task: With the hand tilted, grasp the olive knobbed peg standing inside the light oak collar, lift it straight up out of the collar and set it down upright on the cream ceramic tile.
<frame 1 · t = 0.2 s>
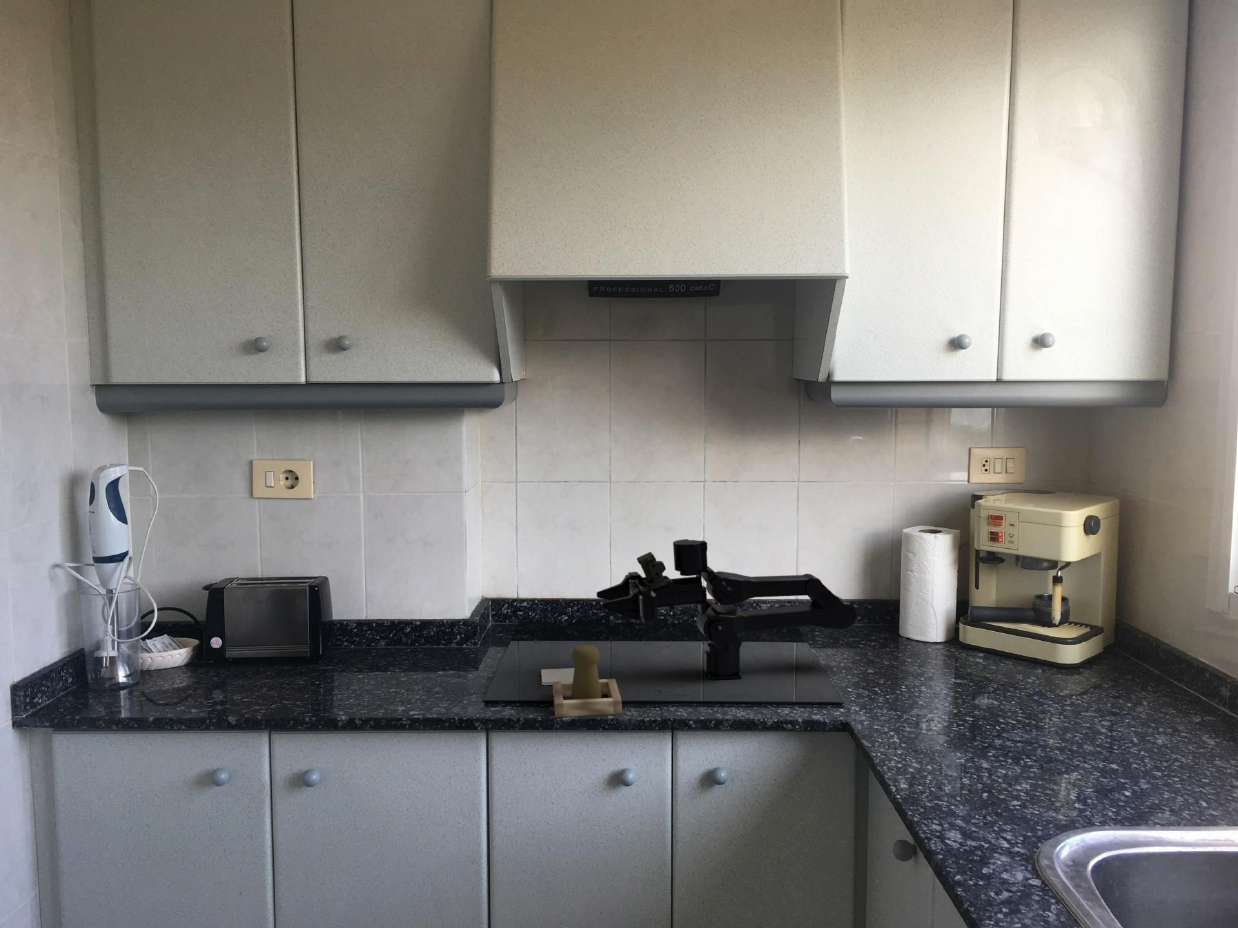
hand: (599, 600, 179), 17 cm above the worktop, tool horizontal, fingers open, 9 cm apart
oak collar: (586, 703, 168), on the worktop
olive knobbed peg: (586, 704, 168), resting in oak collar
cream tile: (561, 678, 183), on the worktop
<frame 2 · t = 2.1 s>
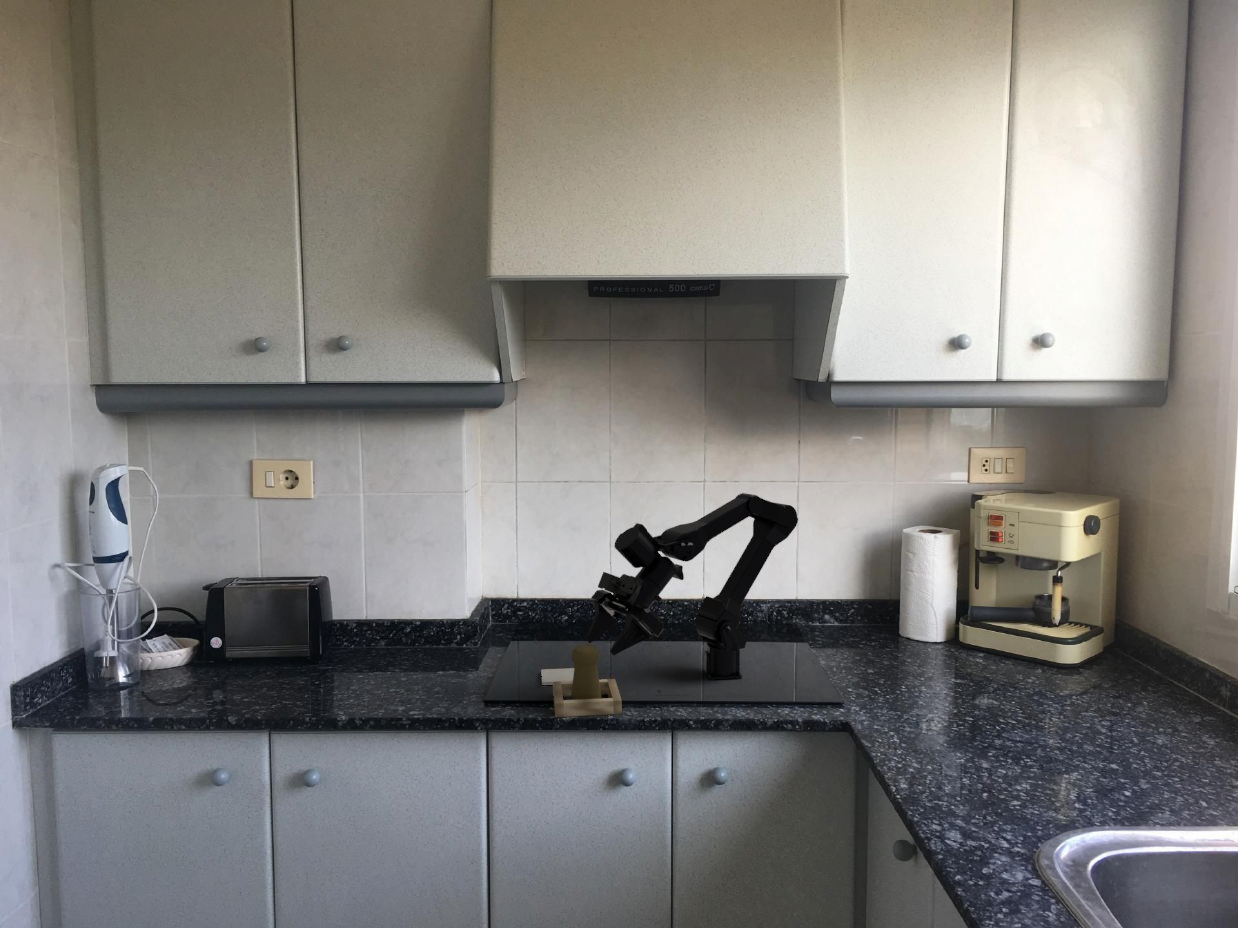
hand: (599, 647, 169), 10 cm above the worktop, tool tilted 45°, fingers open, 9 cm apart
nothing on the worktop moved.
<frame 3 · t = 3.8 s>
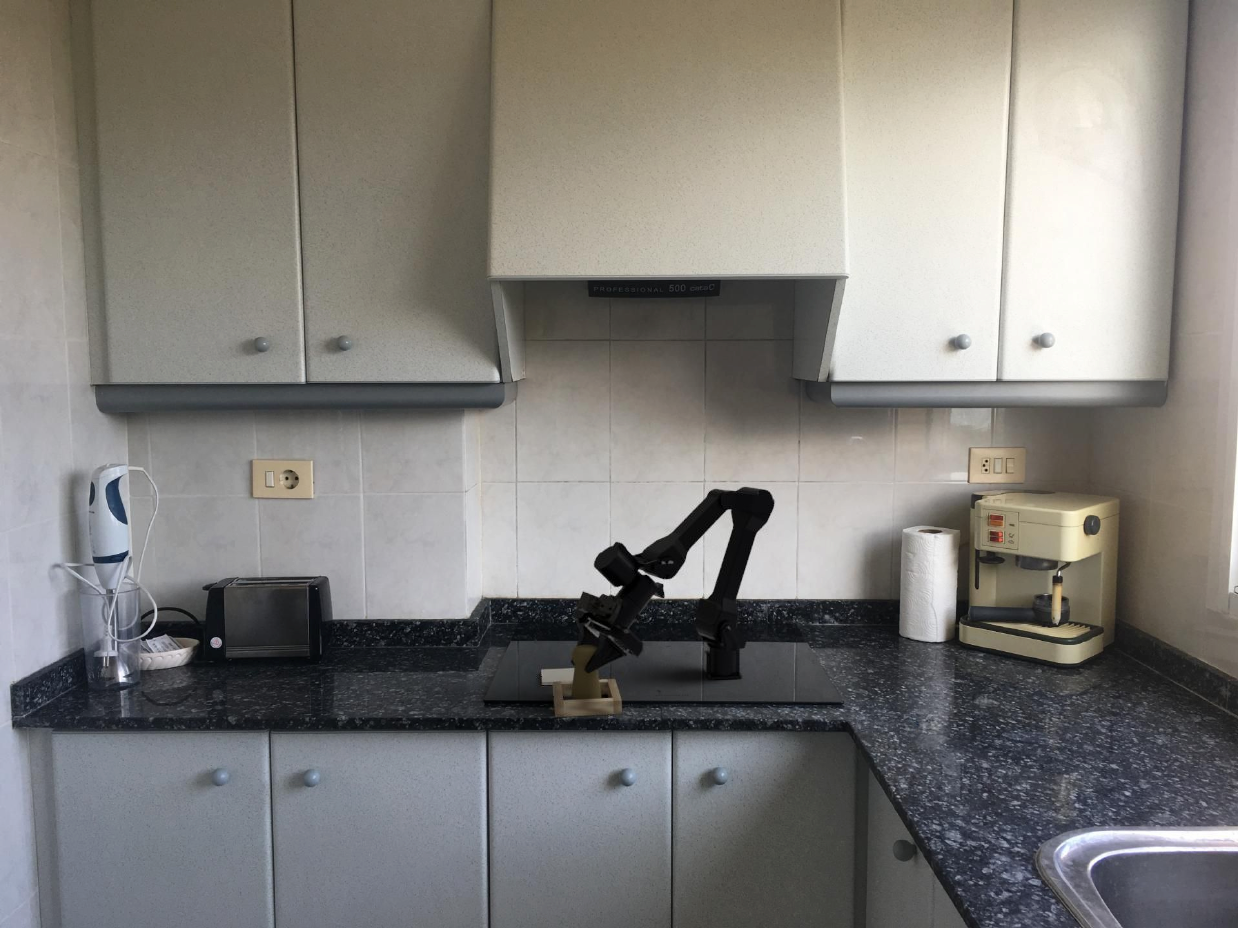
hand: (579, 667, 167), 7 cm above the worktop, tool tilted 45°, fingers closed on olive knobbed peg, 5 cm apart
olive knobbed peg: (586, 704, 168), resting in oak collar, touching gripper
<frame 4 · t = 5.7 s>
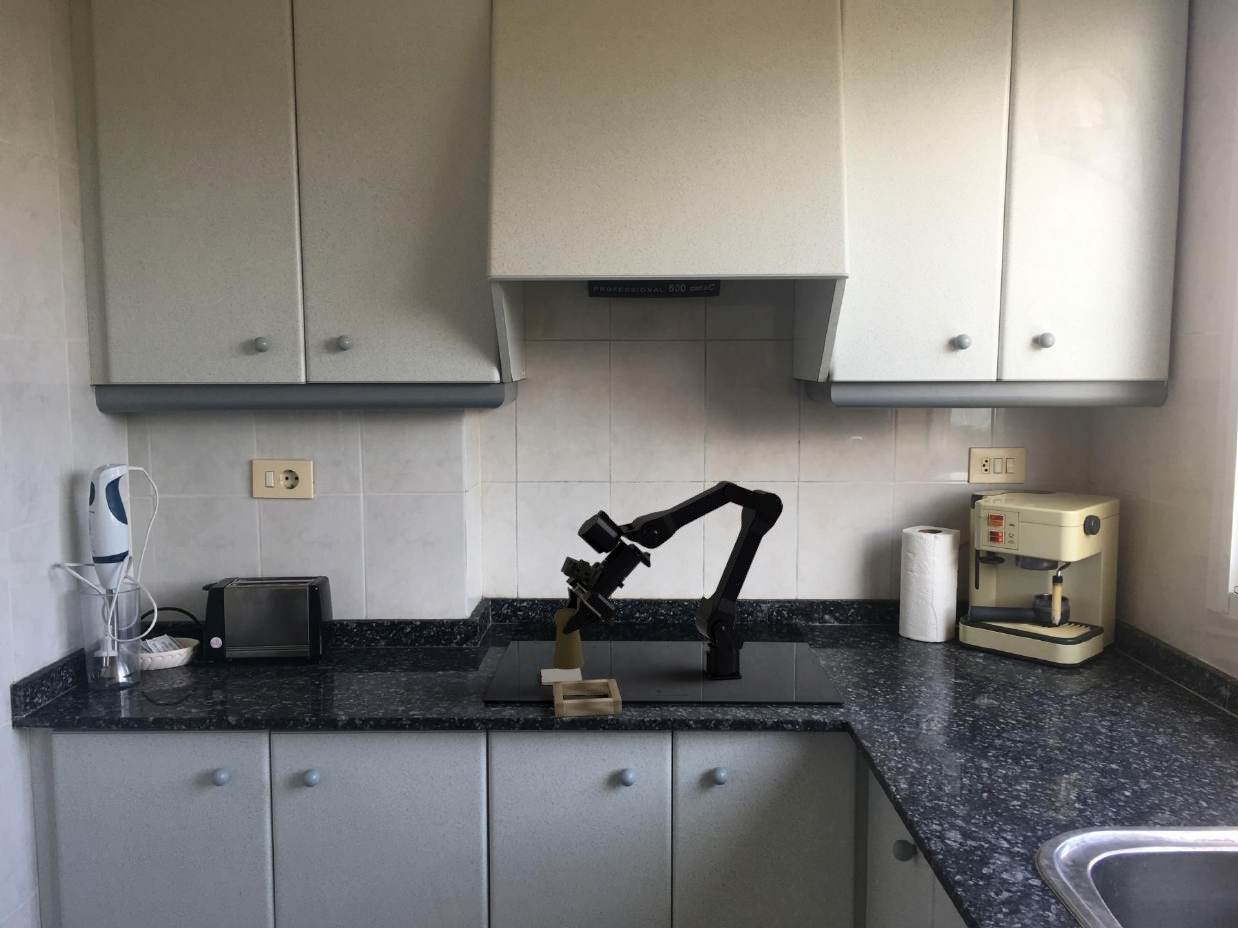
hand: (560, 629, 174), 12 cm above the worktop, tool tilted 45°, fingers closed on olive knobbed peg, 5 cm apart
olive knobbed peg: (568, 665, 175), point 5 cm above the worktop, touching gripper
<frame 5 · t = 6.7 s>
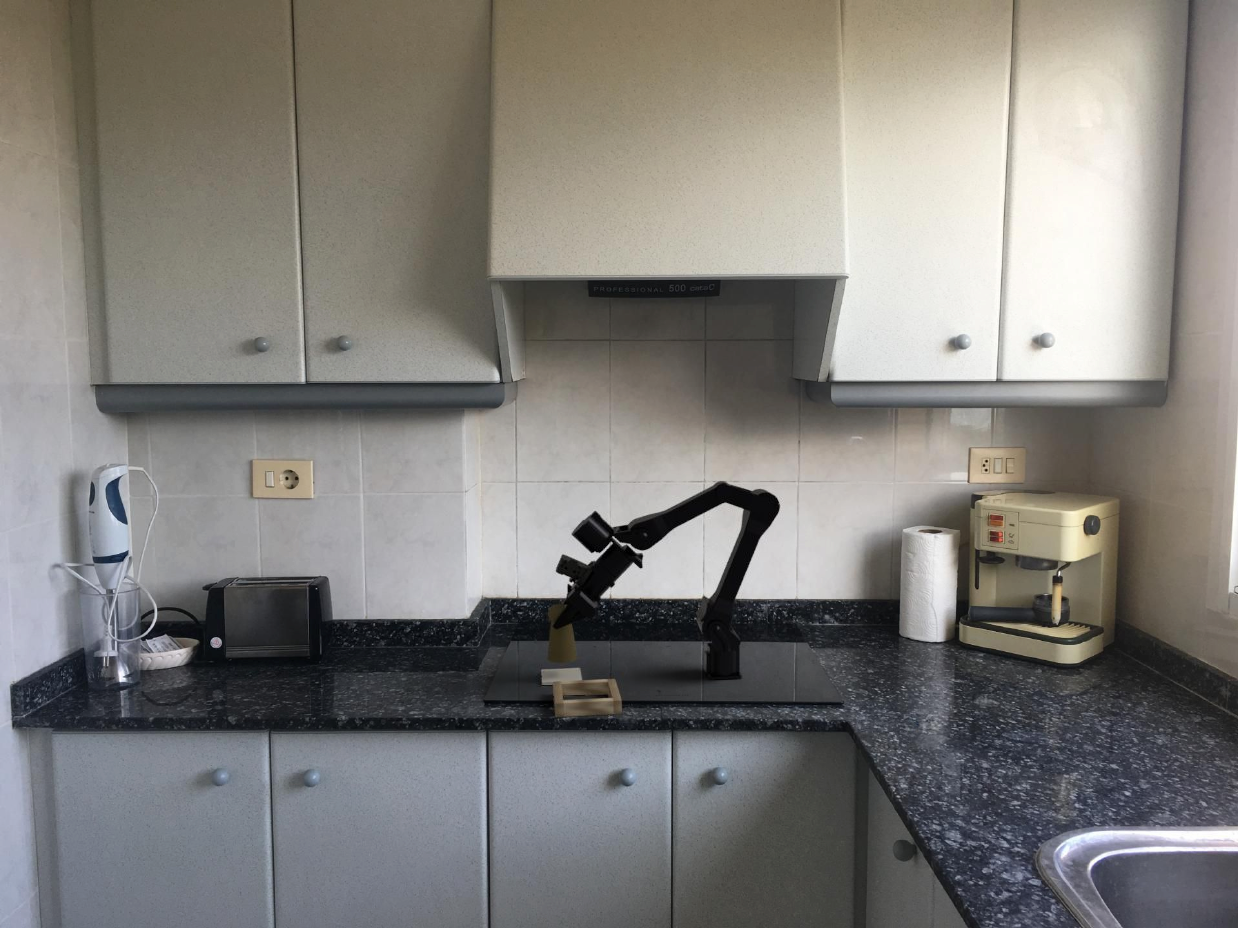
hand: (554, 624, 182), 11 cm above the worktop, tool tilted 45°, fingers closed on olive knobbed peg, 5 cm apart
olive knobbed peg: (562, 659, 182), point 4 cm above the worktop, touching gripper
when the fingers open (9 cm above the worktop, at t = 7.5 s): olive knobbed peg drops 1 cm, resting on cream tile.
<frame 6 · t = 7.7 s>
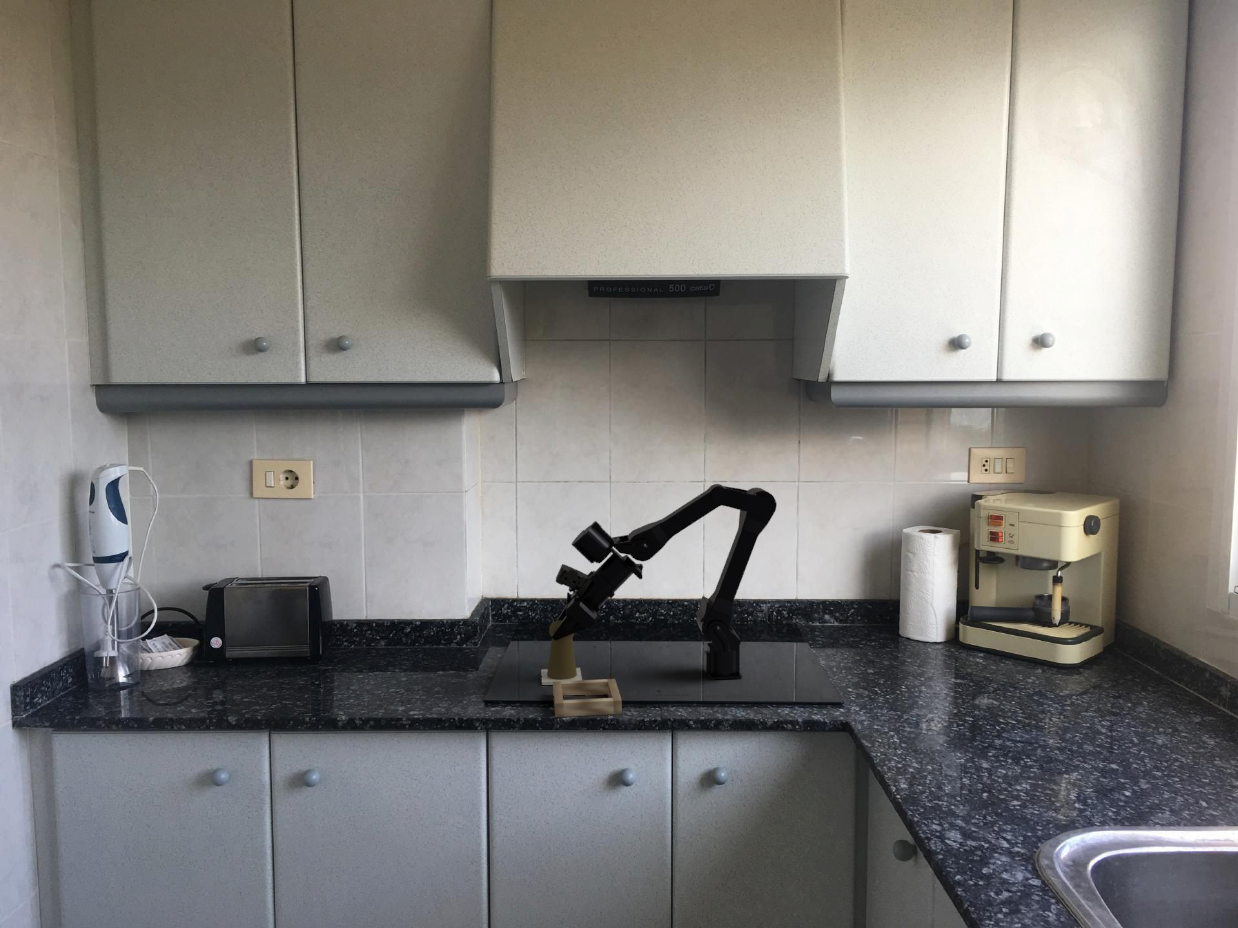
hand: (553, 633, 182), 9 cm above the worktop, tool tilted 45°, fingers open, 7 cm apart
olive knobbed peg: (561, 675, 183), point 1 cm above the worktop, touching cream tile
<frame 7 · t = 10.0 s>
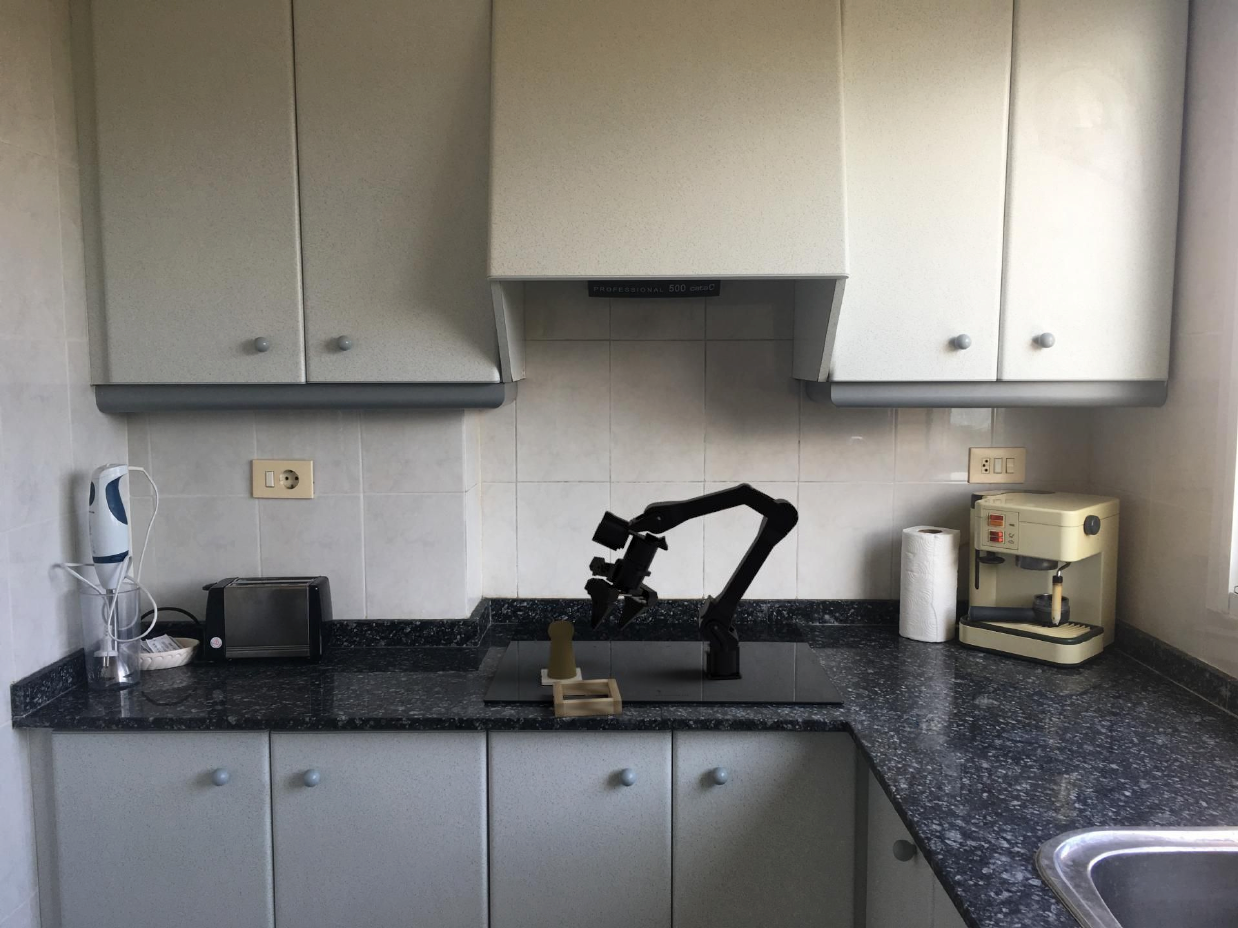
hand: (605, 628, 185), 9 cm above the worktop, tool tilted 25°, fingers open, 9 cm apart
nothing on the worktop moved.
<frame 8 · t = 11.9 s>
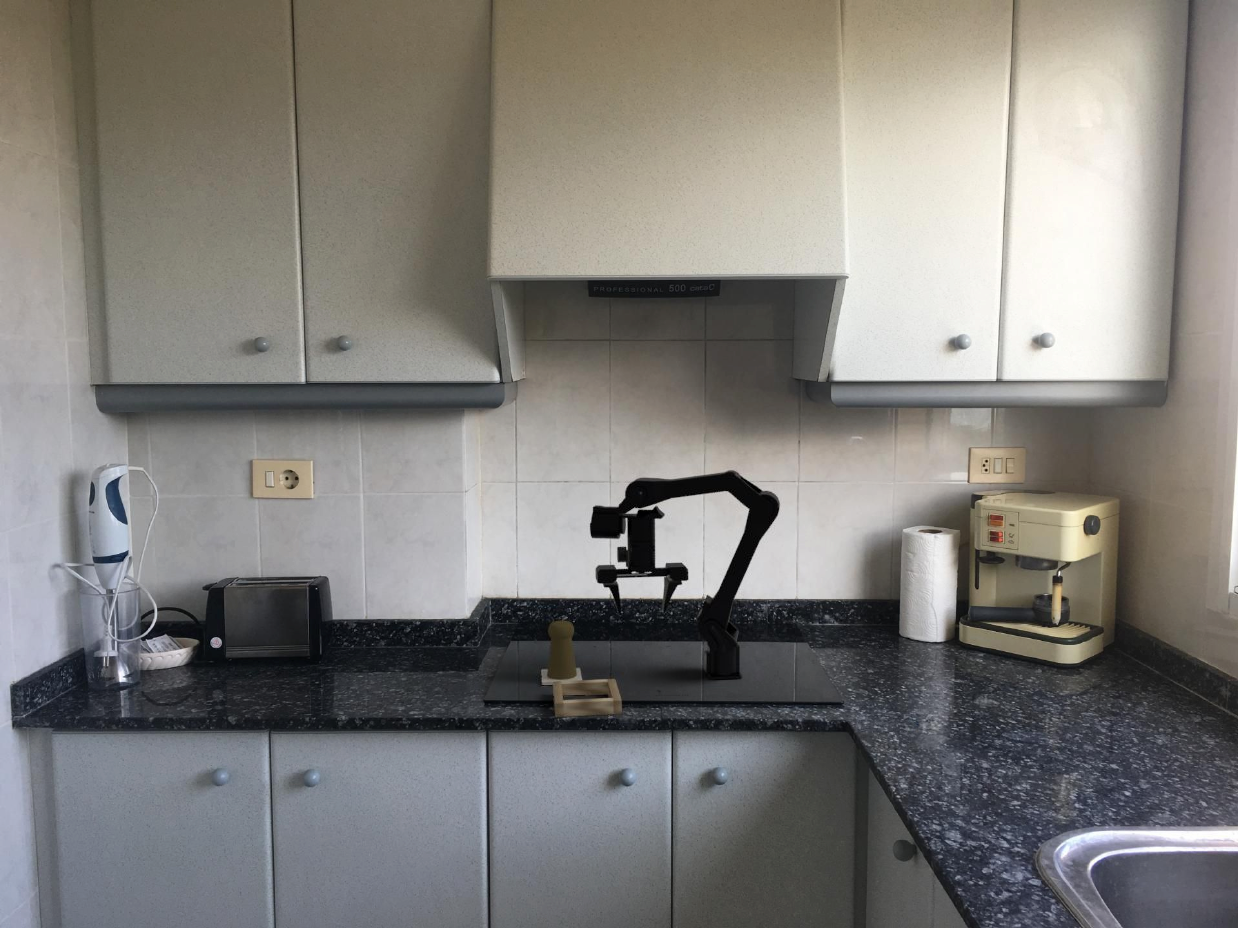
hand: (641, 613, 186), 12 cm above the worktop, tool pointing down, fingers open, 9 cm apart
nothing on the worktop moved.
at the end: olive knobbed peg 0.1 cm off-centre on the cream tile, point 0.6 cm above the cream tile's base; olive knobbed peg tilted 0°; the gripper is holding nothing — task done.
